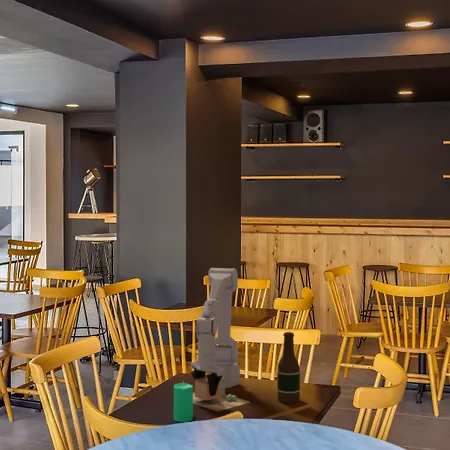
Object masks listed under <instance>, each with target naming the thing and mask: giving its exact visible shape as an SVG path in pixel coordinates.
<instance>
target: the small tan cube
mask: <svg viewBox="0 0 450 450" xmlns="http://www.w3.org/2000/svg"><path fill="white" fill-rule="evenodd" d="M194 392H195V397H197V398H200V399H203V400H211V399H215V398H219V385H218V388H217V392H216V395H214V396H210V392H209V383H208V379H207V377H206V376H205V377H203V378H198V379H195V380H194Z"/></svg>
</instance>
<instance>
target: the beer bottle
mask: <svg viewBox="0 0 450 450" xmlns="http://www.w3.org/2000/svg"><path fill="white" fill-rule="evenodd" d="M282 336H283V350H282V355H281V357H280V359H279V361H278V364H277V374H276V375H277V378H276V379H277V385H276V388H277V392H276V396H277V397H276V398H277V399H276V400H277V402H278V403H282V404H297V403H299V402H300V400H301V394H300V393H301V386H300V385H301V381H300V380H301V370H300V369H301V368H300V364H299V361H298V359H297V357H296V355H295V354H296V353H295V344H294V343H295V342H294V337H295V335H294V332H293V331H292V332H291V331H286V332H283V334H282Z"/></svg>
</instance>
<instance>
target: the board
mask: <svg viewBox="0 0 450 450" xmlns="http://www.w3.org/2000/svg"><path fill="white" fill-rule="evenodd" d="M228 395H229V394H225V395H223V396H219V398H215V399H211V400H203V399H200V398H197V397H195V391H193V405H197V406H200V407H202V408H206V409H209V410H212V411H215V412H221V411H224V410H228V409H232V408H235V407H239V406H242V405H246V404H249V403H251V401H249V400H245V399H241V398H239V397H237V399H236V400H235V401H233V400H232V399H231V400H230V401H227V400H226V397H227V396H228Z"/></svg>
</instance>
